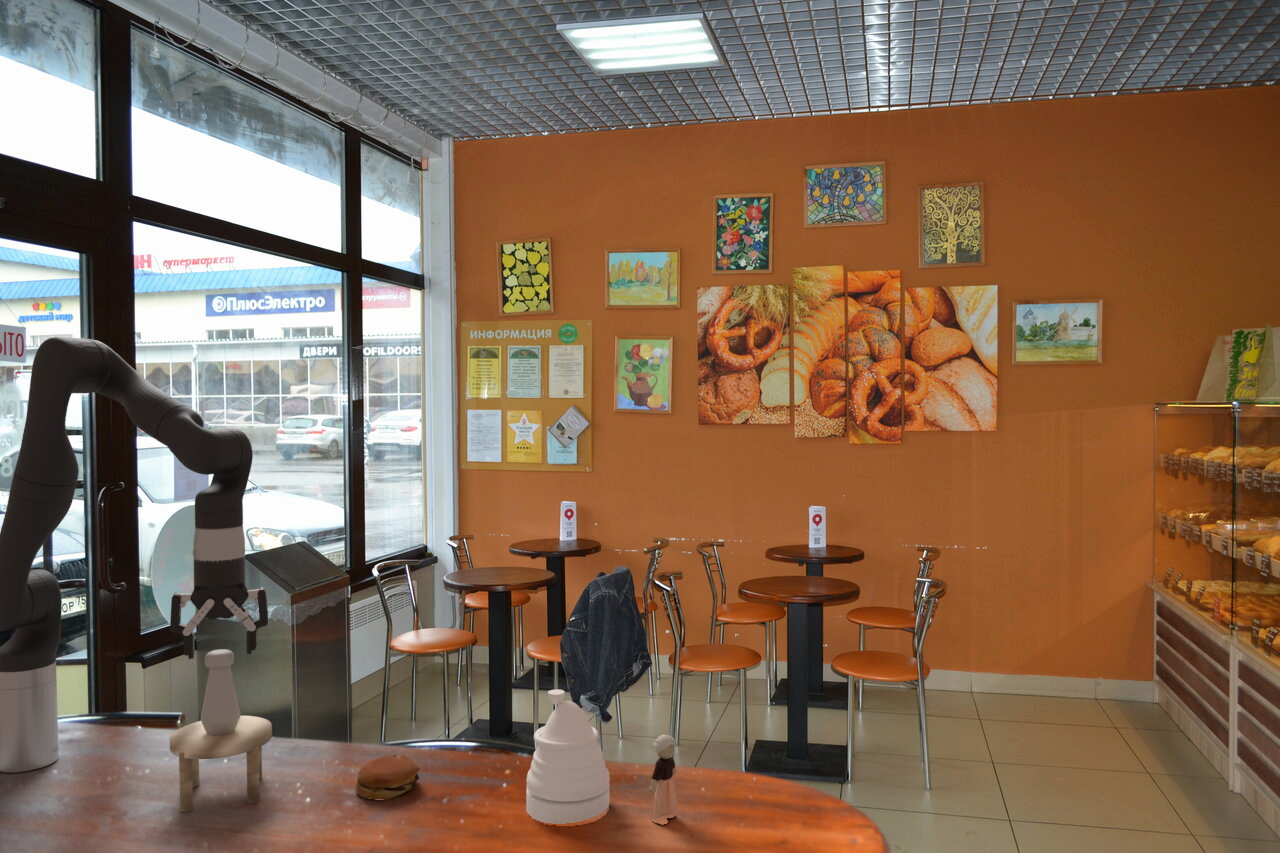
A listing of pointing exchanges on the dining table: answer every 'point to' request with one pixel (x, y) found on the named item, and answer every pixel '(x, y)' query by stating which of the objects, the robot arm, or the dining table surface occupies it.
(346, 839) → the dining table surface
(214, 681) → the salt shaker
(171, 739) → the stool
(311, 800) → the dining table surface
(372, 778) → the burger
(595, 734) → the honey pot
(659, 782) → the grandmother figurine
